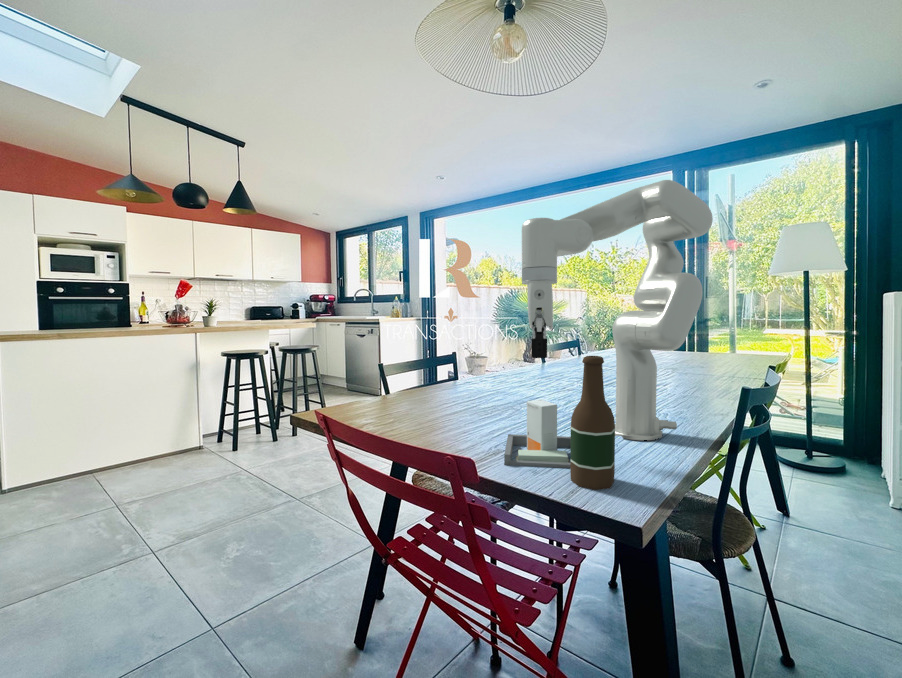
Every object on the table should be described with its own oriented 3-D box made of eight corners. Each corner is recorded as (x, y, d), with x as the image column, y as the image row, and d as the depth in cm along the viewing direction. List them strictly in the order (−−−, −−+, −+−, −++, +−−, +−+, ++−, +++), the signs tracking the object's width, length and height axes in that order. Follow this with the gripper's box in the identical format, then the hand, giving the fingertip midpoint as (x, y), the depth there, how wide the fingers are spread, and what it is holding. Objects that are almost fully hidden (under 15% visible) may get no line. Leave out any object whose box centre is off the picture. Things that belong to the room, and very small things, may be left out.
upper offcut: (565, 457, 93) (565, 450, 93) (567, 463, 89) (567, 456, 89) (518, 456, 94) (518, 449, 94) (518, 462, 91) (518, 455, 91)
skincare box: (526, 453, 99) (525, 400, 98) (541, 450, 101) (541, 399, 100) (541, 461, 94) (541, 406, 93) (558, 458, 95) (558, 404, 94)
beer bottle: (623, 487, 79) (625, 356, 78) (597, 498, 75) (598, 360, 73) (587, 474, 86) (588, 353, 84) (561, 484, 81) (561, 356, 80)
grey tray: (575, 449, 101) (575, 436, 101) (582, 472, 87) (582, 458, 87) (508, 446, 104) (508, 434, 103) (504, 468, 90) (504, 454, 89)
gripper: (558, 273, 86) (558, 360, 87) (555, 279, 103) (555, 351, 104) (520, 274, 87) (520, 359, 88) (523, 280, 104) (523, 351, 105)
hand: (539, 355), depth 96 cm, fingers open, 9 cm apart
